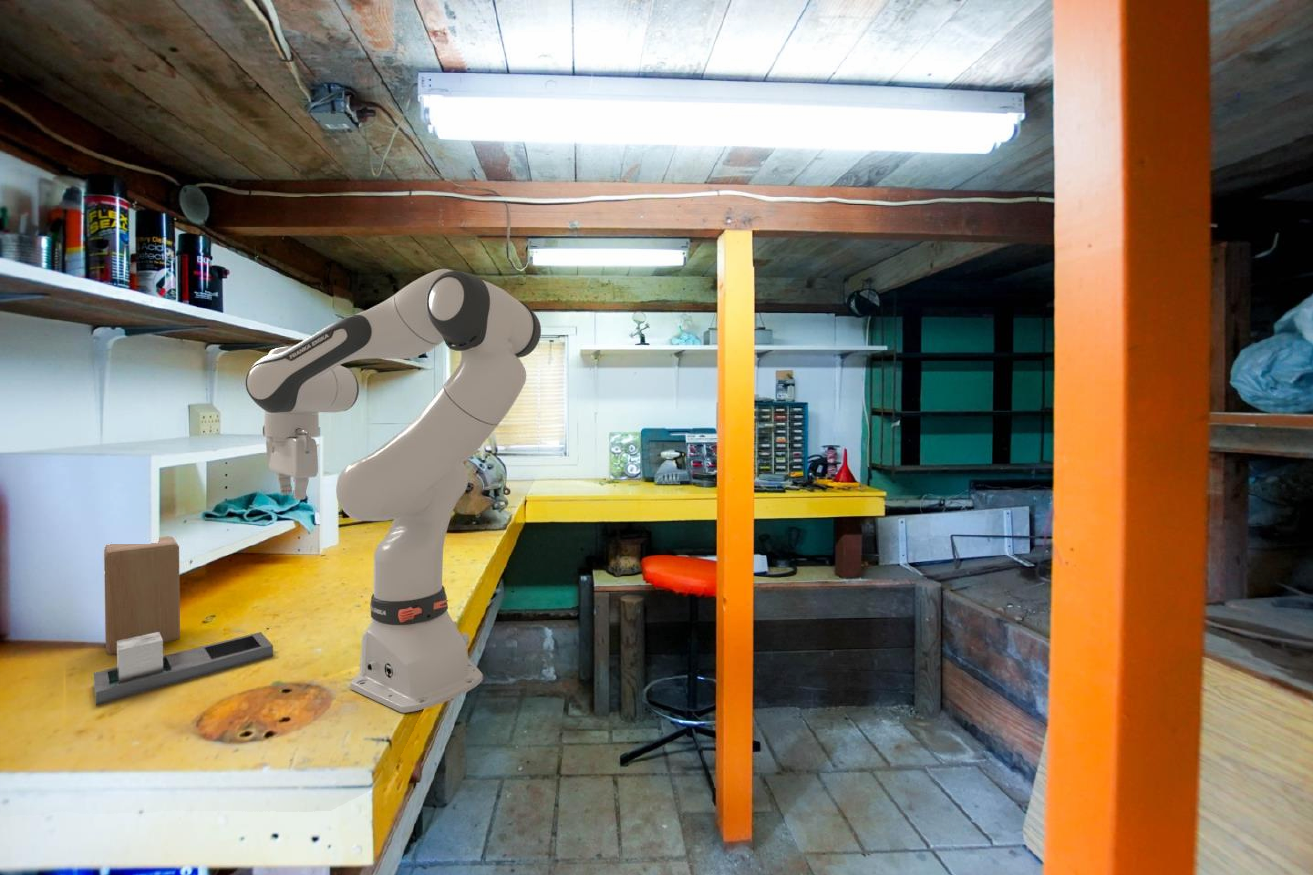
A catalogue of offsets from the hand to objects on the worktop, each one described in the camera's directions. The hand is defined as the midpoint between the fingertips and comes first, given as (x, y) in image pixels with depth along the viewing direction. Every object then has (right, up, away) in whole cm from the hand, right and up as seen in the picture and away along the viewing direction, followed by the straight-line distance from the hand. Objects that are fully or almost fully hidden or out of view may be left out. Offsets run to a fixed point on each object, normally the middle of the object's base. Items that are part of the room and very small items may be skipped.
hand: (292, 496), depth 101 cm
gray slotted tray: (-8, -29, -13) cm, 33 cm away
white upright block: (-12, -29, -18) cm, 36 cm away
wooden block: (-29, -29, -2) cm, 41 cm away
